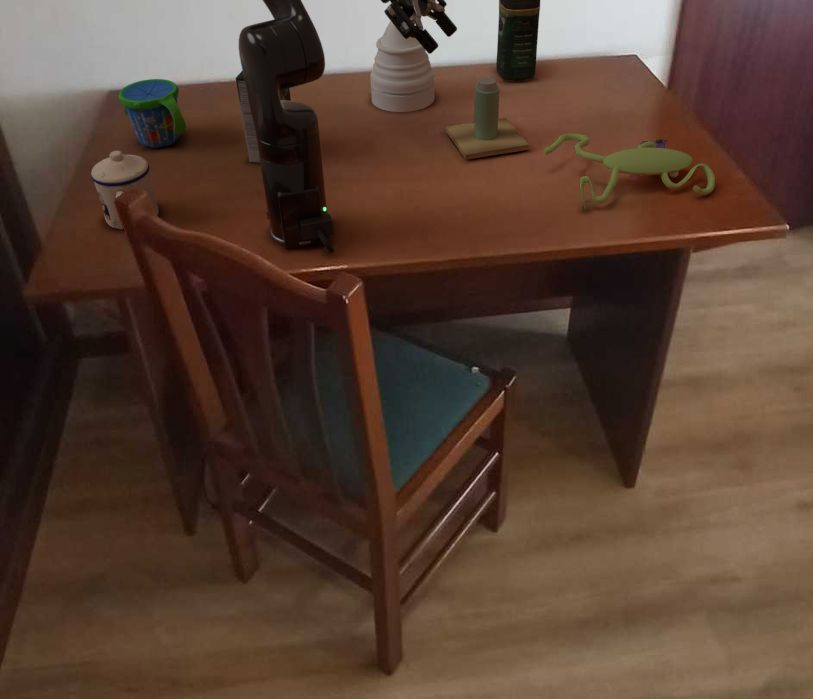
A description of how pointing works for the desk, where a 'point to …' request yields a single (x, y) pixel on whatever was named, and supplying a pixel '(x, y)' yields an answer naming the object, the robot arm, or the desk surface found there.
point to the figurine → (637, 164)
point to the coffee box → (247, 117)
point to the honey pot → (401, 73)
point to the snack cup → (153, 111)
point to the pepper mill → (486, 109)
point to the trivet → (477, 148)
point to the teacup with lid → (121, 182)
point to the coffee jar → (517, 39)
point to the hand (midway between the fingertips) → (444, 41)
